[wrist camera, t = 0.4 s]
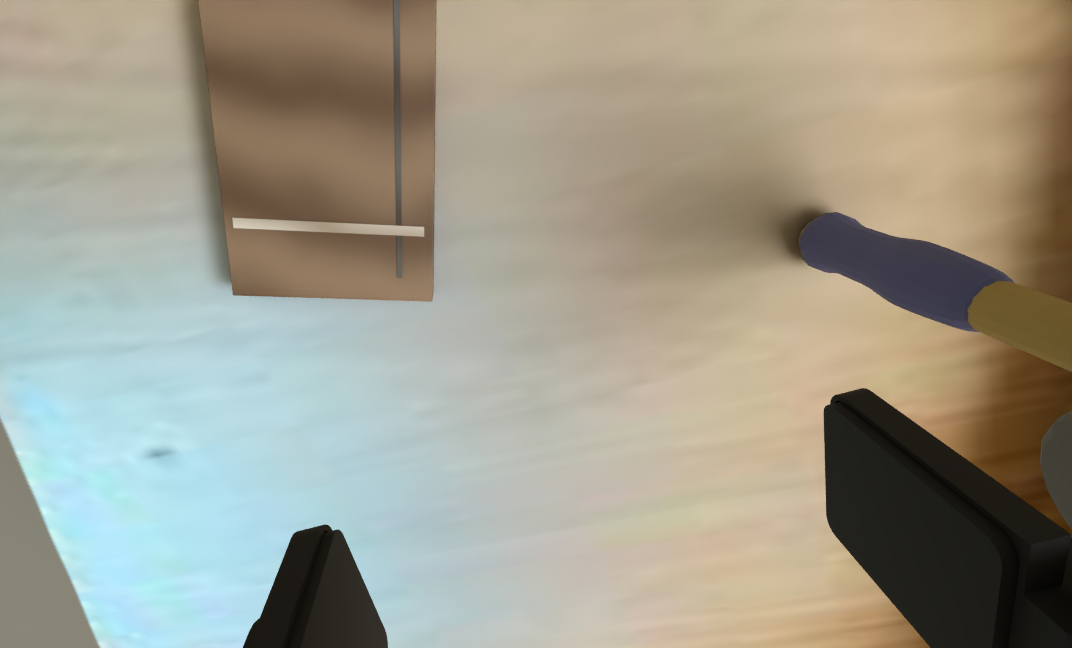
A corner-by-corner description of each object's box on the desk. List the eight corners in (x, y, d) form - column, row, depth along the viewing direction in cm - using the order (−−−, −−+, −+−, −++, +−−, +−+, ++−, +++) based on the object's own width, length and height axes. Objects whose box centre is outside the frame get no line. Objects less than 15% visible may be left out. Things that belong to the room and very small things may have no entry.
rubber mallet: (749, 319, 42) (1292, 736, 15) (718, 228, 40) (1319, 530, 12) (908, 244, 42) (1793, 534, 14) (888, 147, 39) (1948, 265, 11)
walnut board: (190, -201, 28) (170, -223, 26) (438, -167, 30) (436, -185, 28) (244, 285, 37) (232, 295, 35) (433, 291, 39) (431, 301, 37)
